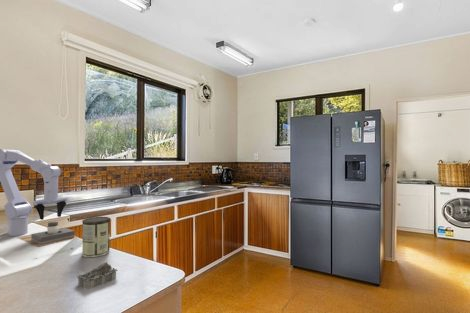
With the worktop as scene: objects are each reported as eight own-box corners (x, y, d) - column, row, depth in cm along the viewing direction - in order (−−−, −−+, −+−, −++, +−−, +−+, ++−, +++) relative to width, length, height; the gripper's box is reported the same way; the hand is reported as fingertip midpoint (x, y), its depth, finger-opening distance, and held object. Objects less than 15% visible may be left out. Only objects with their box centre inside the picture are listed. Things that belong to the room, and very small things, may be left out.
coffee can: (92, 248, 117) (92, 216, 117) (114, 249, 116) (115, 216, 116) (75, 256, 107) (76, 221, 107) (100, 258, 106) (100, 222, 106)
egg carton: (108, 273, 93) (108, 261, 93) (119, 279, 88) (119, 266, 88) (74, 283, 84) (75, 270, 85) (85, 291, 80) (85, 277, 80)
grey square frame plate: (40, 244, 118) (41, 237, 118) (31, 240, 123) (31, 233, 123) (74, 237, 130) (74, 230, 130) (64, 233, 135) (64, 227, 135)
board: (16, 239, 128) (16, 237, 128) (55, 231, 142) (56, 229, 142) (38, 249, 115) (38, 247, 115) (79, 239, 129) (79, 237, 129)
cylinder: (46, 238, 124) (46, 224, 124) (47, 236, 127) (47, 222, 127) (58, 236, 126) (58, 222, 126) (58, 234, 130) (58, 221, 130)
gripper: (37, 192, 125) (37, 221, 124) (70, 189, 137) (70, 216, 137) (31, 191, 128) (30, 219, 128) (63, 188, 141) (63, 214, 140)
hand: (50, 217), depth 133 cm, fingers open, 7 cm apart
